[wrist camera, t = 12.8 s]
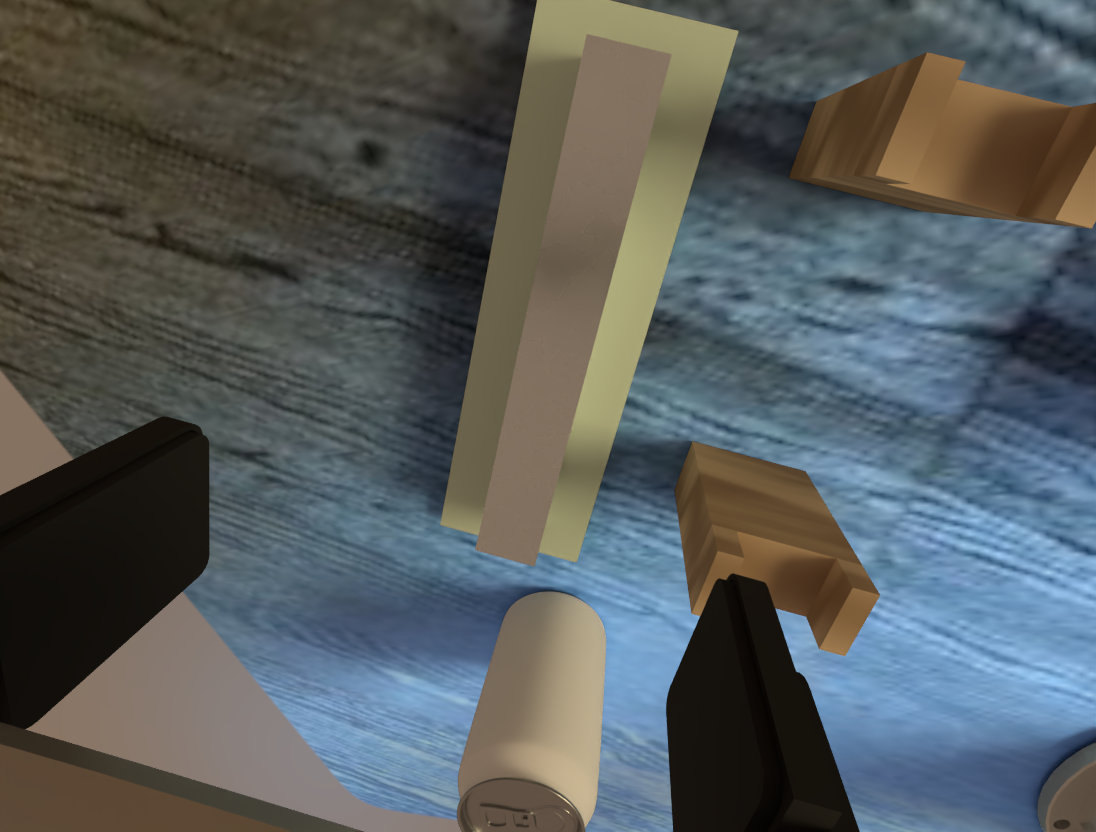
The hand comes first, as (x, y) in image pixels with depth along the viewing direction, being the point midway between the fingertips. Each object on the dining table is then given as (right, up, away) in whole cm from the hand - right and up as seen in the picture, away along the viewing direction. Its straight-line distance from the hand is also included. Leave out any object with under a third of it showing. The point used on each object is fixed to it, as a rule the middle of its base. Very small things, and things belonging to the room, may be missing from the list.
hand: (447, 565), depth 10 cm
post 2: (+15, +14, +14) cm, 25 cm away
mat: (+3, +7, +18) cm, 20 cm away
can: (+2, -11, +26) cm, 28 cm away
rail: (+3, +7, +17) cm, 19 cm away
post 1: (+12, -1, +20) cm, 24 cm away
